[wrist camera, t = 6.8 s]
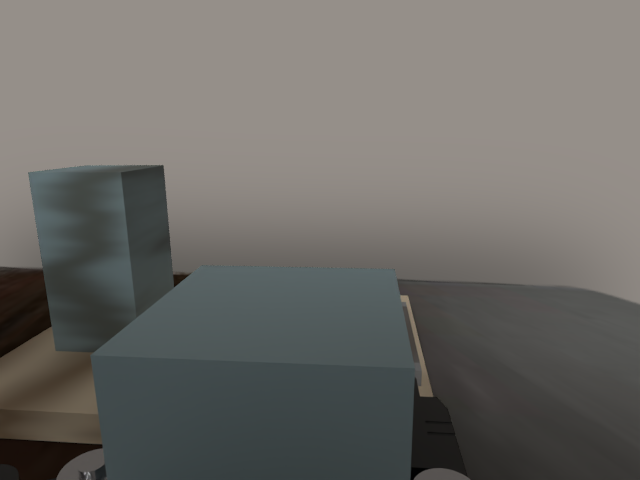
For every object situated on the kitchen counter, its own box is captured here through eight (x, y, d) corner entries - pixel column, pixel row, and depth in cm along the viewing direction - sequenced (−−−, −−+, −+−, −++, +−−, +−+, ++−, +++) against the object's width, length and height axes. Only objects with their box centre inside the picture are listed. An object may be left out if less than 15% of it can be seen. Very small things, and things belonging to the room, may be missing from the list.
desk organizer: (-70, 434, 21) (-128, 183, 18) (115, 306, 37) (97, 160, 34) (440, 464, 19) (456, 184, 16) (407, 314, 34) (412, 159, 32)
